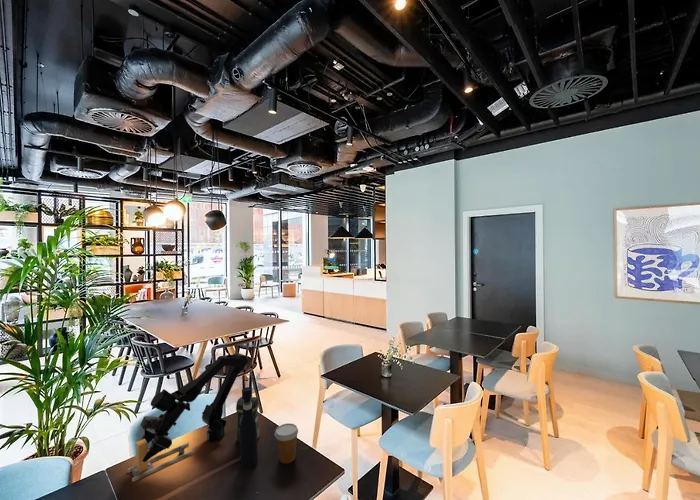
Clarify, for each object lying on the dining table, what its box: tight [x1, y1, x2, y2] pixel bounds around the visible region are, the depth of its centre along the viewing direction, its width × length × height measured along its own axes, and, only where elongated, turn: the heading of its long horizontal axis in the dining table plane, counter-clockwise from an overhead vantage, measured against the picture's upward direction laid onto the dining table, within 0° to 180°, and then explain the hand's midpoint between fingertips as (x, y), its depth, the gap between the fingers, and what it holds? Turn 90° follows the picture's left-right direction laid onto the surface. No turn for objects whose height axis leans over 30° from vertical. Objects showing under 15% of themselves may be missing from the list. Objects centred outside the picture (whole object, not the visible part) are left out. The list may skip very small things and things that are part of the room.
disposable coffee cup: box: [274, 422, 299, 464], centre depth 127 cm, size 10×10×12 cm
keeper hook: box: [176, 444, 185, 456], centre depth 131 cm, size 2×2×3 cm
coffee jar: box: [235, 396, 260, 443], centre depth 142 cm, size 10×8×19 cm
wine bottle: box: [239, 386, 259, 470], centre depth 125 cm, size 6×6×30 cm
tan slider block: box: [131, 438, 154, 477], centre depth 121 cm, size 6×6×11 cm
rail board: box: [127, 441, 196, 482], centre depth 126 cm, size 22×8×2 cm, turn 136°
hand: (140, 456), depth 120 cm, fingers open, 9 cm apart
